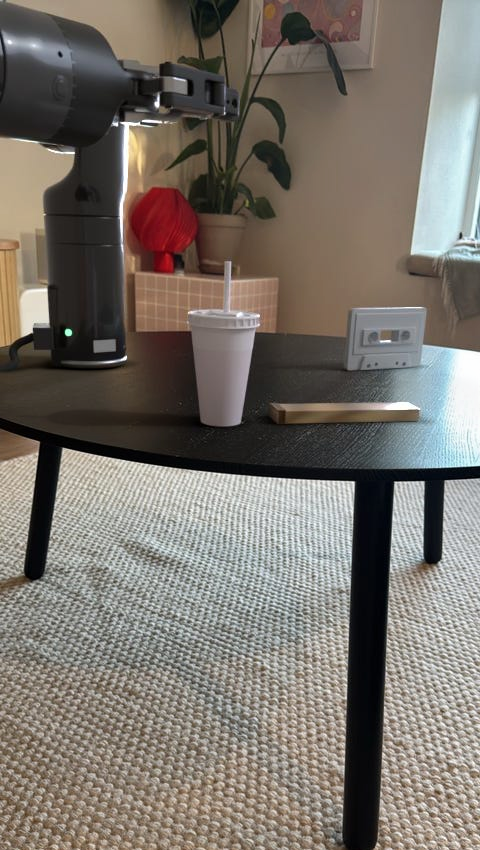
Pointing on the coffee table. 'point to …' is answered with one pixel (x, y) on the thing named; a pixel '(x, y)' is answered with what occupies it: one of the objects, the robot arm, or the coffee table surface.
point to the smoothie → (222, 358)
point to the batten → (343, 412)
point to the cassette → (384, 354)
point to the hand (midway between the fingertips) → (194, 110)
